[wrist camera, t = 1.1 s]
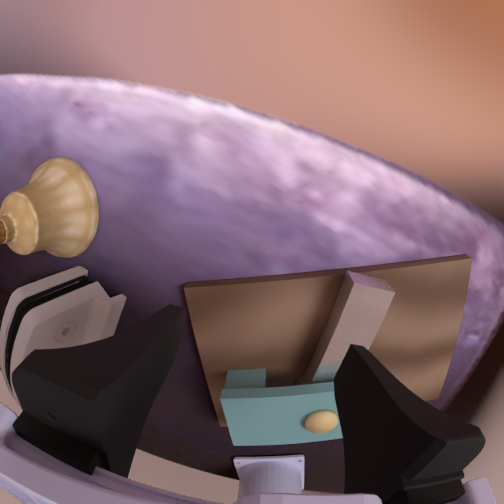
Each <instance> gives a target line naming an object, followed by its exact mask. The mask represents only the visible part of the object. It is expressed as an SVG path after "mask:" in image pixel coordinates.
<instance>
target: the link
mask: <svg viewBox="0 0 504 504" xmlns="http://www.w3.org/2000/svg"><path fill="white" fill-rule="evenodd" d="M394 294H395V292H394V290H393V289H392V288H391V287H390V285H389V284H388V283H387V282H386V280H383V279H379V278H375V277H371V276H367V275H363V274H359V273H355V272H351V271H347V272H346V274H345V277H344V280H343V283H342V285H341V288H340V291H339V293H338V296H337V299H336V301H335V304H334V306H333V309H332V311H331V314H330V316H329V319H328V321H327V324H326V326H325V329H324V331H323V334H322V336H321V338H320V341H319V343H318V346H317V348H316V350H315V352H314V355H313V357H312V359H311V362H310V364H309V366H308V368H307V371H306V373H305V375H303V376H301V377H300V378H299V379H298V380H297V381H296V382H295V383H294V385H293V386H297V385H308V384H317V383H326V382H334V377H335V375H336V373H337V371H338V369H339V367H340V365H341V363H342V361H343V359H344V357H345V355H346V353H347V350H348V348H349V346H350V344H355V345H361V346H364V347H365V348H366V349H367V350H369V348H370V346H371V344H372V342H373V340H374V338H375V336H376V334H377V332H378V330H379V328H380V326H381V324H382V321H383V319H384V317H385V315H386V313H387V310H388V308H389V306H390V304H391V301H392V299H393V297H394Z"/></svg>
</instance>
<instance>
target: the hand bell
mask: <svg viewBox="0 0 504 504" xmlns="http://www.w3.org/2000/svg"><path fill="white" fill-rule="evenodd" d="M98 222H99V205H98V198H97V194H96V191H95V188H94V185H93V183H92V181H91V179H90V177H89V176H88V174H87V173H86V171H85V170H84V169H83V168H82V167H81V166H80V165H79V164H77V163H76V162H74V161H73V160H71V159H68V158H63V157H57V158H52V159H49V160H47V161H45V162H44V163H43V164H41V165H40V166H39V167H38V168H37V169H36V171H35V172H34V173H33V175H32V177H31V178H30V181H29V183H28V185H26V186H25V187H23V188H21V189H19V190H17V191H14V192H12V193H10V194H9V195H8V196H7V197H6V198H5V200H4V201H3V203H2V205H1V209H0V245H1V244H4V243H7V245H8V246H9V247H10V249H11V250H13V251H14V252H16V253H18V254H20V255H28V254H30V253H33V252H37V251H41V250H45V251H47V252H48V253H50V254H52V255H54V256H57V257H63V258H71V257H75V256H78V255H80V254H81V253H83V252H84V251H85V250H86V249H87V248H88V247H89V246H90V244H91V242H92V241H93V239H94V237H95V234H96V232H97V227H98Z"/></svg>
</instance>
